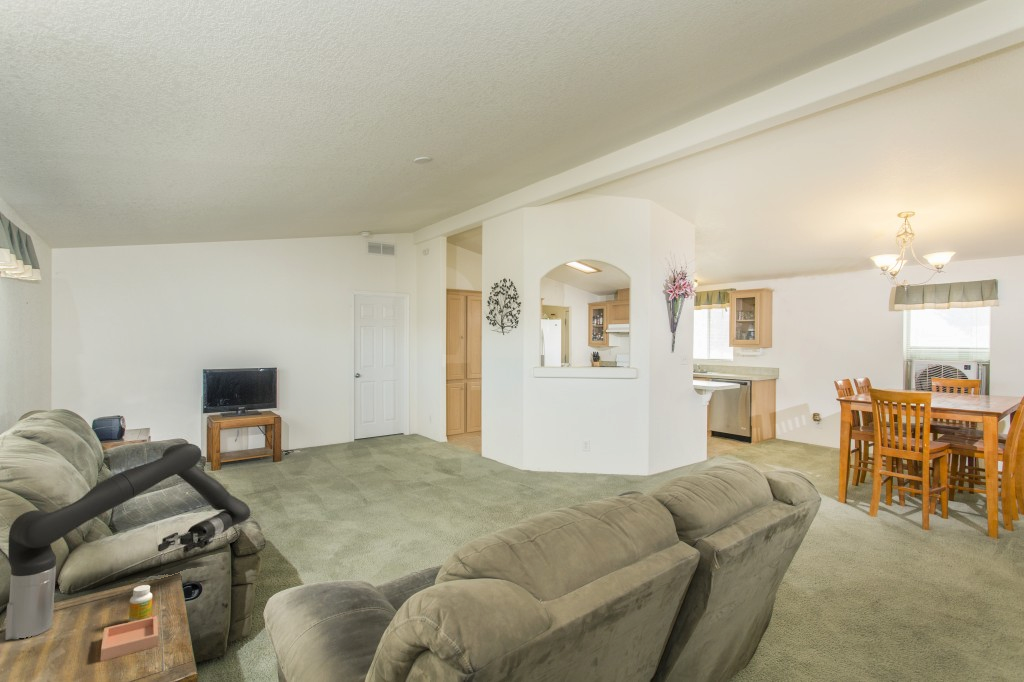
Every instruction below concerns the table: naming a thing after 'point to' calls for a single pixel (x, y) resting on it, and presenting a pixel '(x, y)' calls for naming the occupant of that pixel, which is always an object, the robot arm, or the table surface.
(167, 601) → the table surface
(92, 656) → the table surface
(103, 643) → the tray
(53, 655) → the table surface
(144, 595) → the supplement bottle
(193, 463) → the robot arm
